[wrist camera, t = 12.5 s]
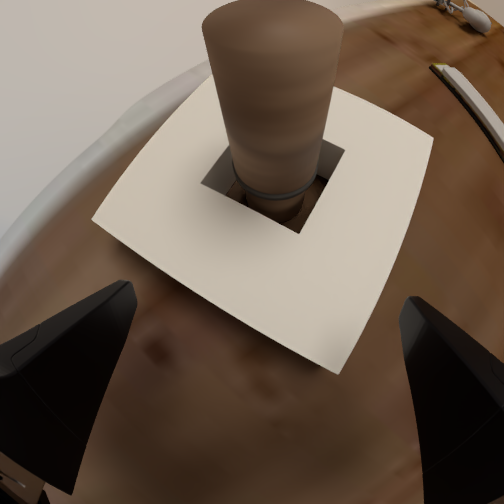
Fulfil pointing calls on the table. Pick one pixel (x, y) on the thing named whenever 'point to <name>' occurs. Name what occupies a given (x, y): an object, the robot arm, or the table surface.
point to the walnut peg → (274, 94)
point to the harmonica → (473, 104)
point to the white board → (270, 232)
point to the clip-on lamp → (469, 15)
